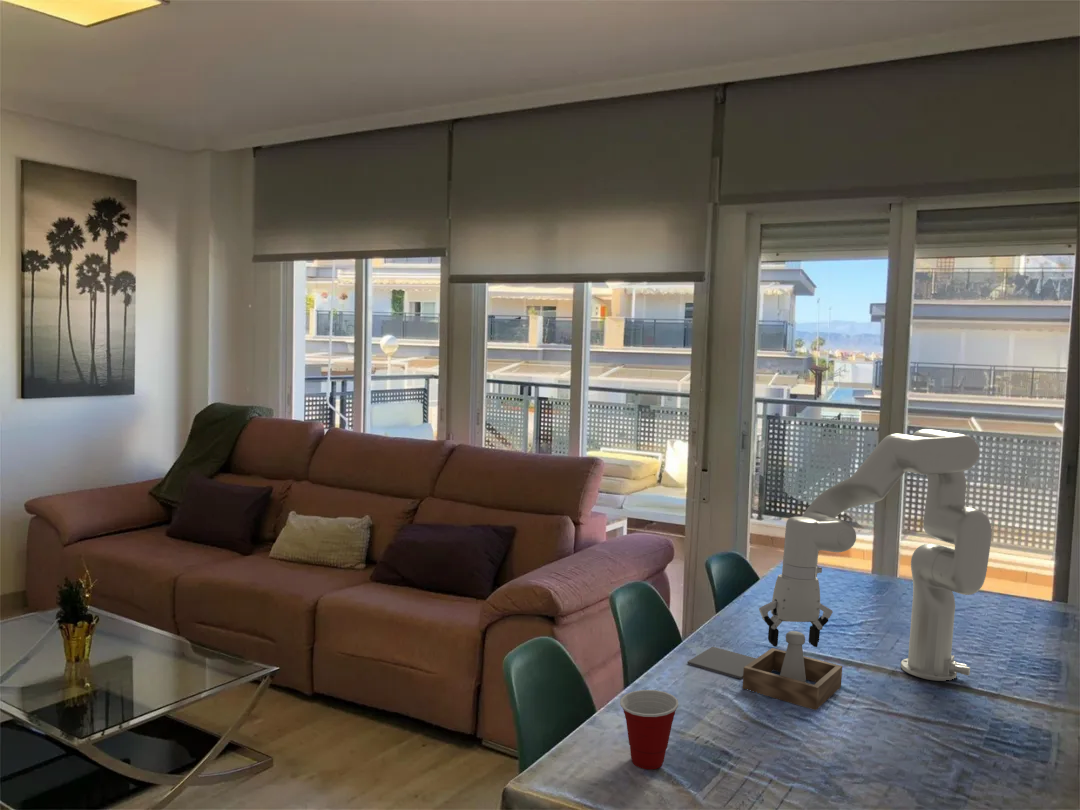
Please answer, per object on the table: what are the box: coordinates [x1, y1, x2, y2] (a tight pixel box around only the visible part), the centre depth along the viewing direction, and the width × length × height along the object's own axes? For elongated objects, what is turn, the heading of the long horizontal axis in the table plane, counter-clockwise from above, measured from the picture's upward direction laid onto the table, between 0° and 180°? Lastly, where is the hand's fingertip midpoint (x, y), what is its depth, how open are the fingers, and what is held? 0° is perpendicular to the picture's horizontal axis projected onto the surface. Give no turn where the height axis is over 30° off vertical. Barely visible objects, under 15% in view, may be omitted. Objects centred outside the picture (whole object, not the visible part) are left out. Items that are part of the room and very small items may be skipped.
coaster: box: [687, 646, 758, 680], centre depth 210 cm, size 14×14×1 cm
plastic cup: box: [619, 689, 679, 771], centre depth 158 cm, size 11×11×12 cm
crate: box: [741, 647, 843, 711], centre depth 197 cm, size 17×17×5 cm
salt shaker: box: [779, 630, 807, 683], centre depth 196 cm, size 6×6×13 cm
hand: (793, 644), depth 196 cm, fingers open, 9 cm apart
